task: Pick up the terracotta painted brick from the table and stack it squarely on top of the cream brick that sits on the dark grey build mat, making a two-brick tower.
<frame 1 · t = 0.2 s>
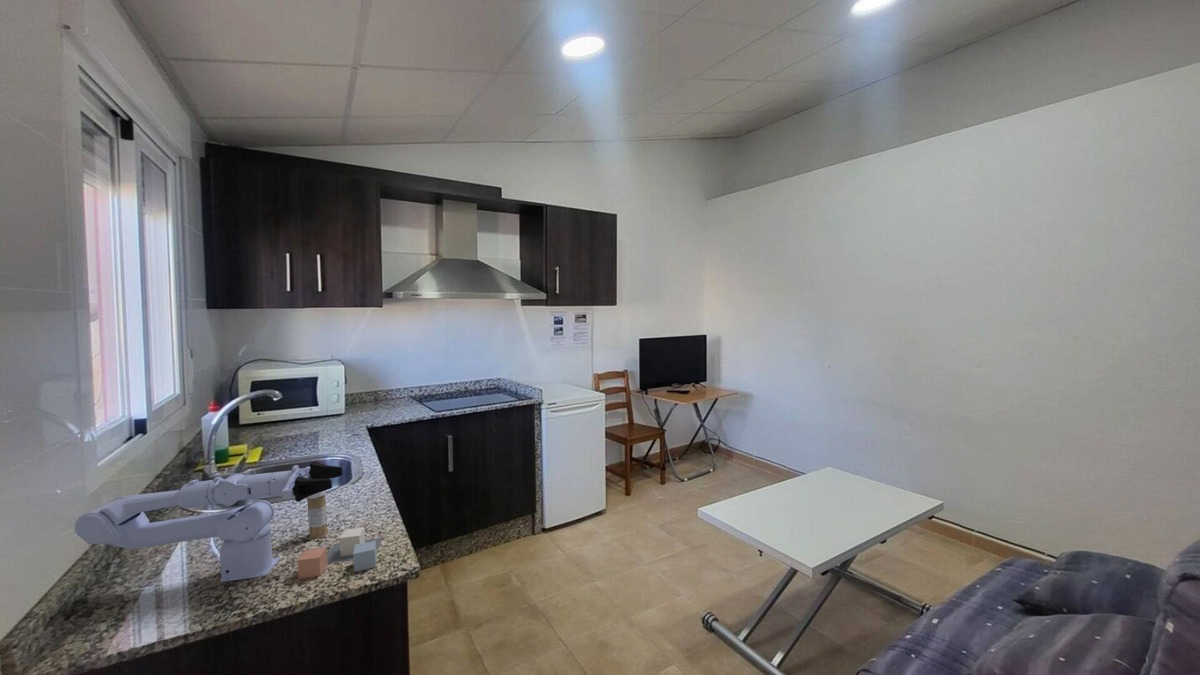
hand: (336, 477, 115), 21 cm above the worktop, tool horizontal, fingers open, 7 cm apart
cream brick: (353, 550, 120), resting on build mat
sprinkles bottle: (318, 536, 129), on the worktop
terracotta brick: (313, 573, 110), on the worktop
build mat: (353, 551, 120), on the worktop
slate brick: (365, 566, 113), on the worktop
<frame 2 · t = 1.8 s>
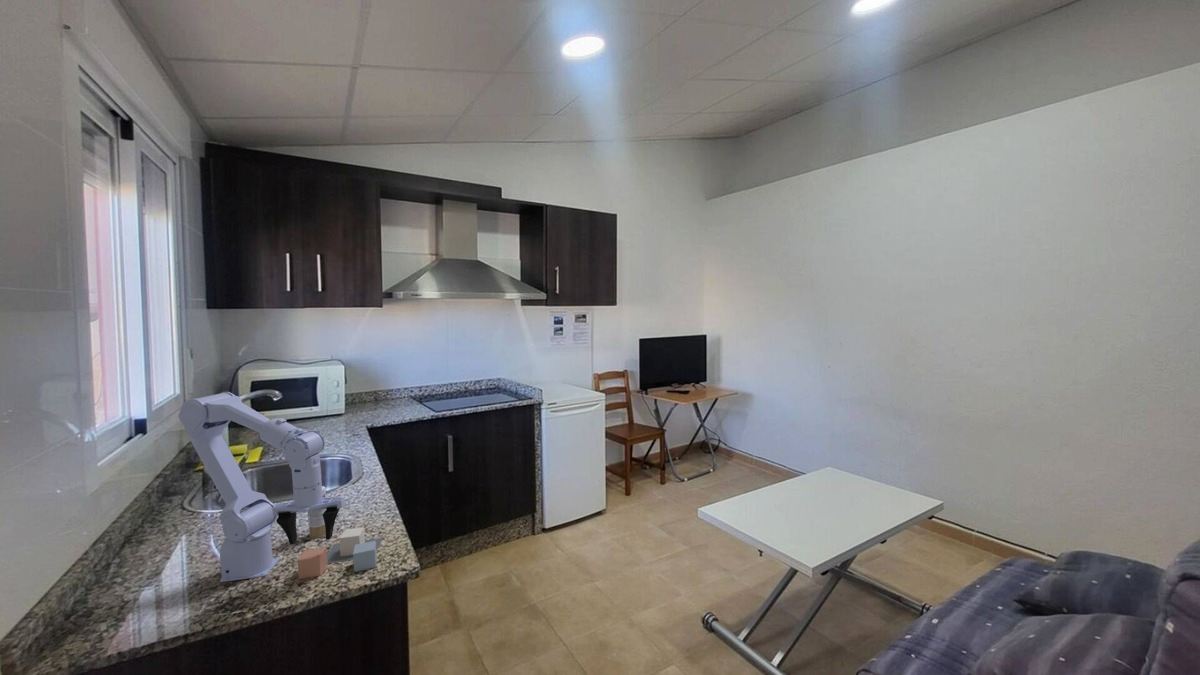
hand: (311, 540, 110), 8 cm above the worktop, tool pointing down, fingers open, 7 cm apart
nothing on the worktop moved.
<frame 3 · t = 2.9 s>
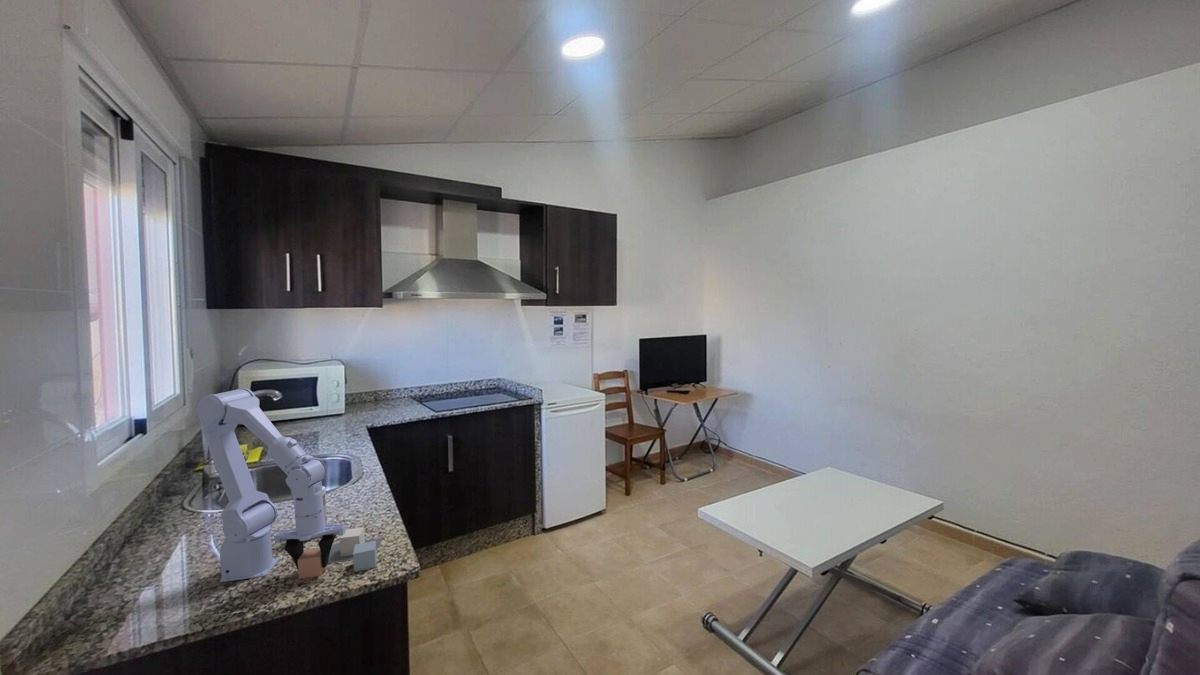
hand: (313, 567, 110), 1 cm above the worktop, tool pointing down, fingers closed on terracotta brick, 5 cm apart
terracotta brick: (313, 572, 110), on the worktop, touching gripper
everything else where it was.
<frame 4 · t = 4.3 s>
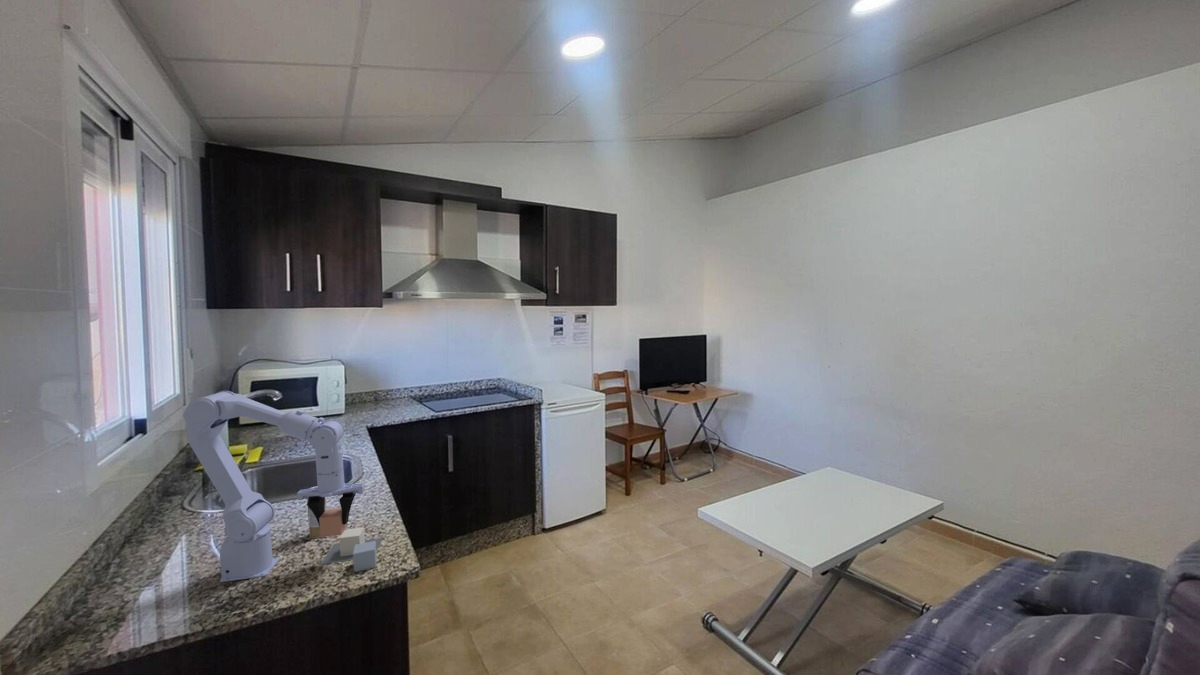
hand: (334, 524, 115), 9 cm above the worktop, tool pointing down, fingers closed on terracotta brick, 5 cm apart
terracotta brick: (334, 531, 115), point 8 cm above the worktop, touching gripper
everything else where it was.
when the fingers open (8 cm above the worktop, at t = 5.5 s): terracotta brick stays where it is, resting on cream brick.
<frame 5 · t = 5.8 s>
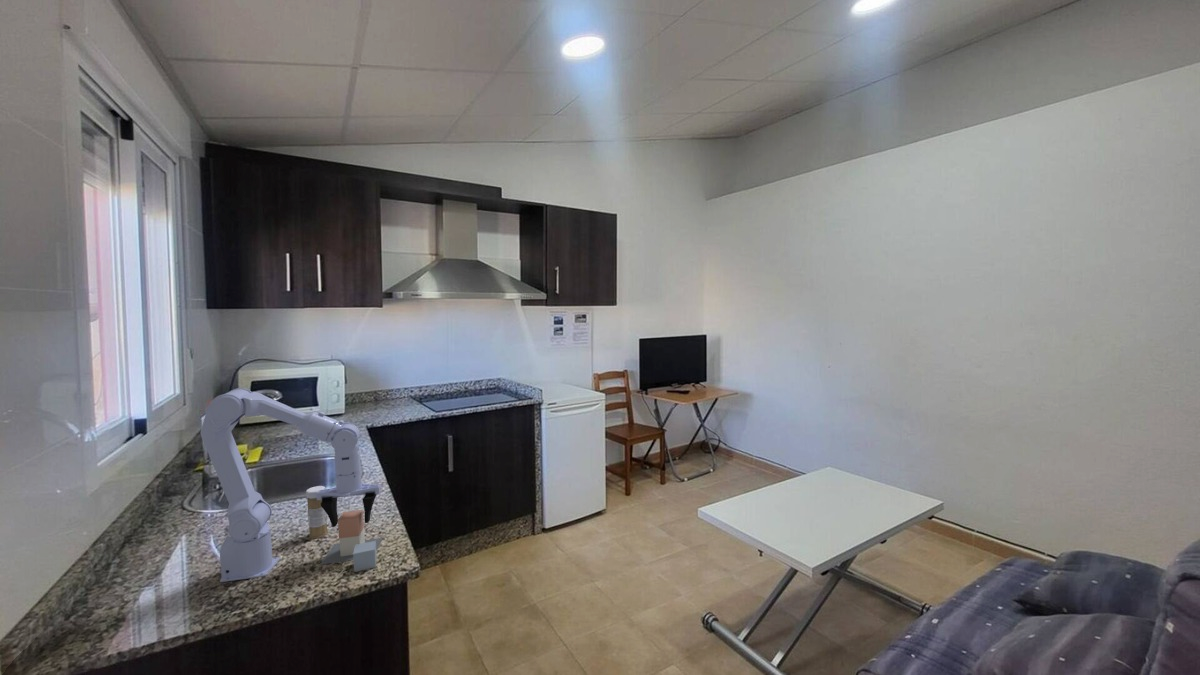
hand: (351, 523, 119), 8 cm above the worktop, tool pointing down, fingers open, 7 cm apart
cream brick: (353, 550, 120), resting on build mat, touching terracotta brick
terracotta brick: (351, 532, 119), point 5 cm above the worktop, touching cream brick
everything else where it was.
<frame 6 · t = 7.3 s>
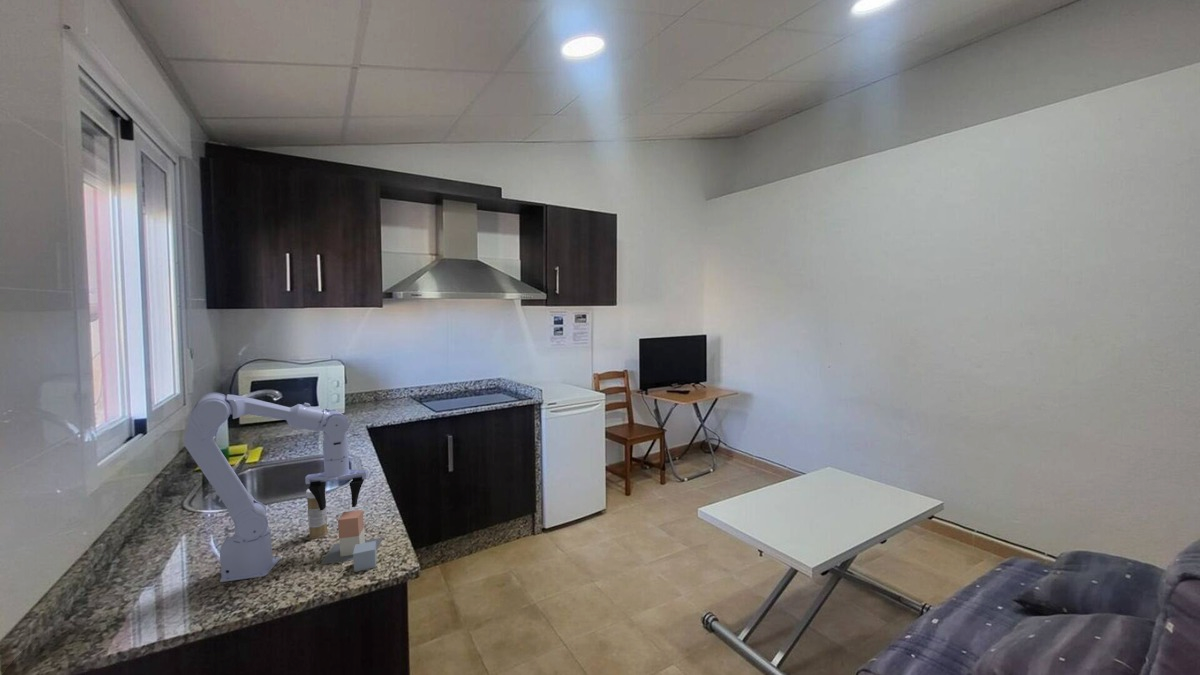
hand: (338, 507, 123), 10 cm above the worktop, tool pointing down, fingers open, 7 cm apart
nothing on the worktop moved.
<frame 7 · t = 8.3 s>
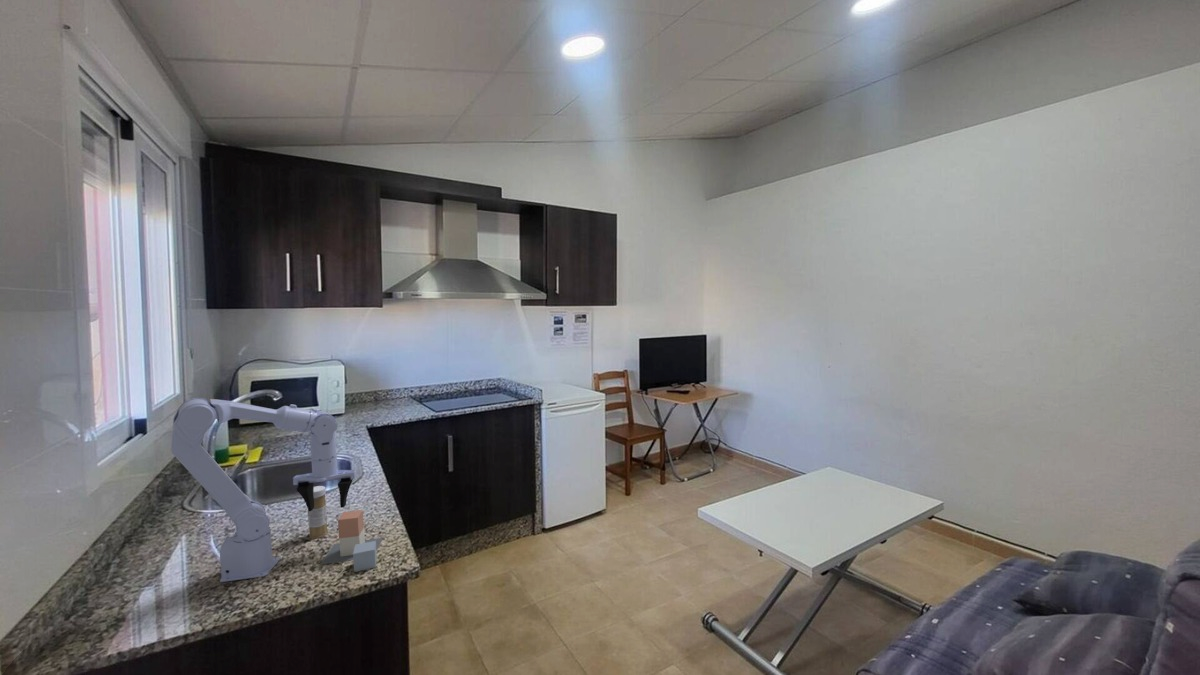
hand: (327, 507, 122), 10 cm above the worktop, tool pointing down, fingers open, 7 cm apart
nothing on the worktop moved.
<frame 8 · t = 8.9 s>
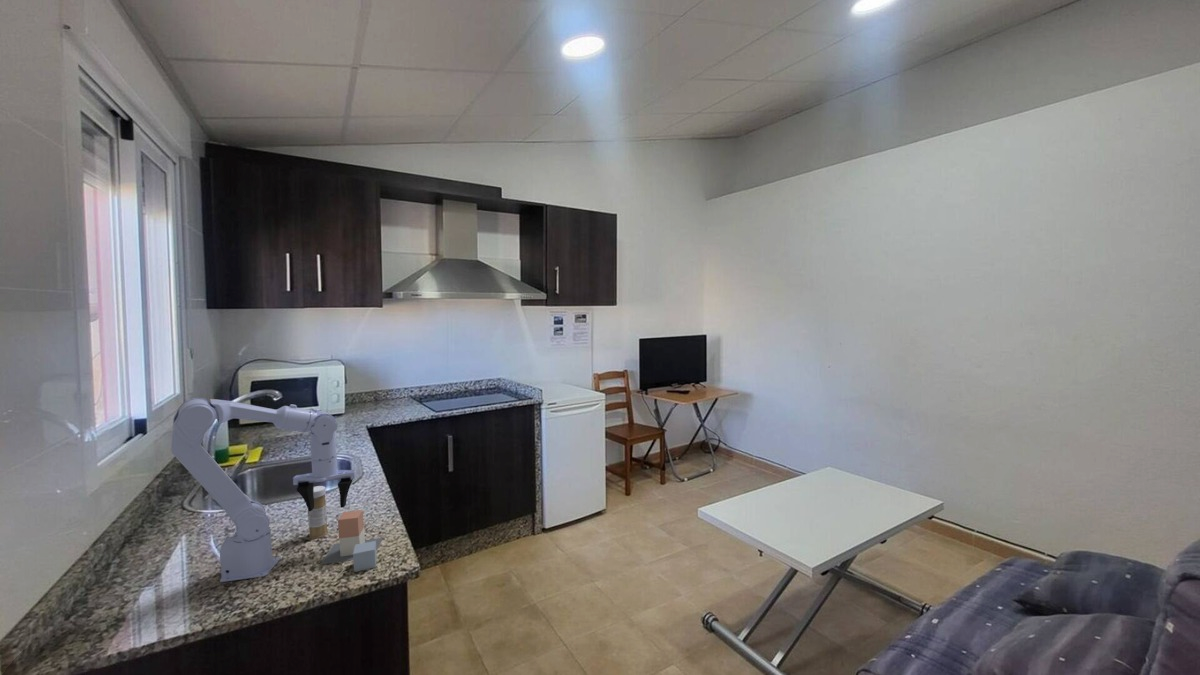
hand: (327, 507, 122), 10 cm above the worktop, tool pointing down, fingers open, 7 cm apart
nothing on the worktop moved.
at the end: terracotta brick 0.2 cm off-centre on the cream brick, point 4.8 cm above the cream brick's base; terracotta brick tilted 0°; cream brick moved 0.0 cm from its start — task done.
